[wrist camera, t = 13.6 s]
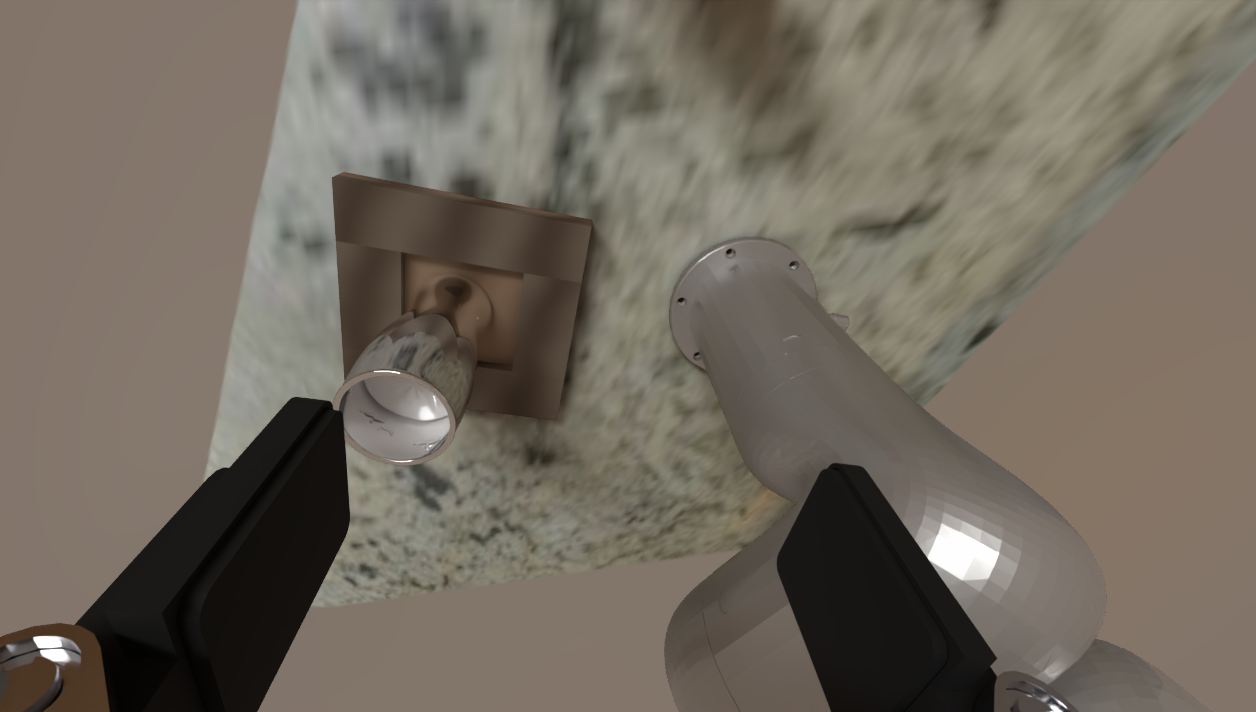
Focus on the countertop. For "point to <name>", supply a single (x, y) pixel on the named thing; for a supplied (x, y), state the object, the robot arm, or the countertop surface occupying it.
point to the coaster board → (478, 250)
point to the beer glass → (417, 375)
